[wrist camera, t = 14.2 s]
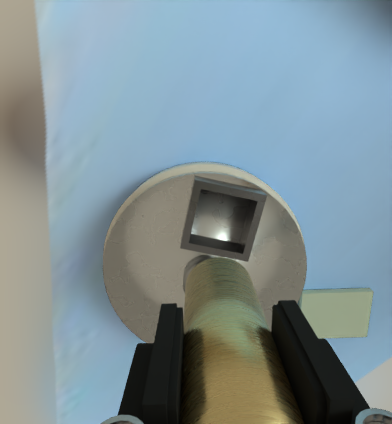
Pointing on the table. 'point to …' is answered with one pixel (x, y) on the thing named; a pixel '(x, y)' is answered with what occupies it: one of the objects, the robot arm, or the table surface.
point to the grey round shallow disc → (199, 245)
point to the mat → (337, 311)
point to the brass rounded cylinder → (230, 352)
